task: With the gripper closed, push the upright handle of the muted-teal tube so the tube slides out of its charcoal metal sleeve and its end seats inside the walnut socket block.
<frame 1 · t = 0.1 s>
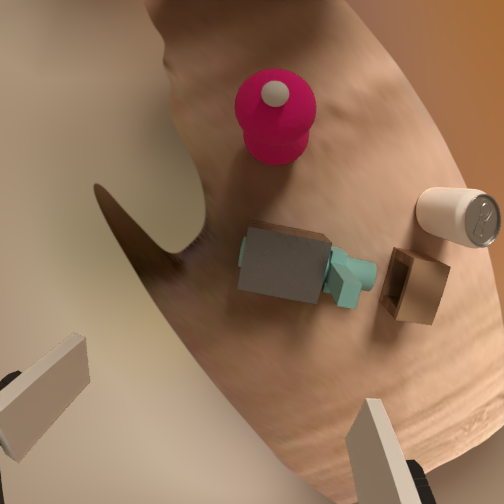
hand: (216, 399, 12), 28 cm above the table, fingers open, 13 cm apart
tube: (311, 272, 32), point 7 cm above the table, slide at 0.0 cm
pepper mill: (276, 140, 36), on the table
can: (433, 210, 36), on the table
socket: (403, 277, 38), on the table
sleeve: (282, 253, 39), on the table
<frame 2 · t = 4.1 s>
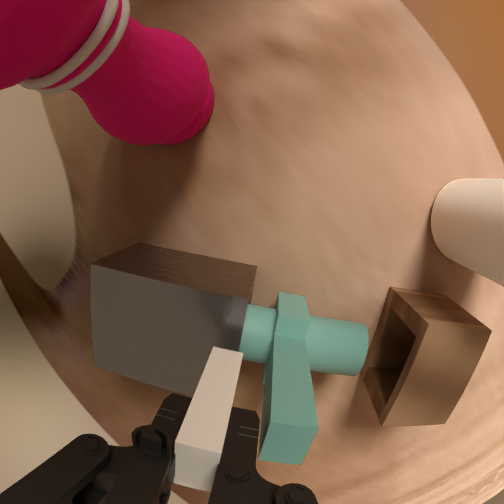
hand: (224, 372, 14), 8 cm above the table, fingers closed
tube: (230, 359, 15), point 7 cm above the table, slide at 1.2 cm, touching gripper
pepper mill: (173, 104, 20), on the table
can: (459, 219, 20), on the table
socket: (404, 335, 22), on the table
sleeve: (189, 299, 22), on the table
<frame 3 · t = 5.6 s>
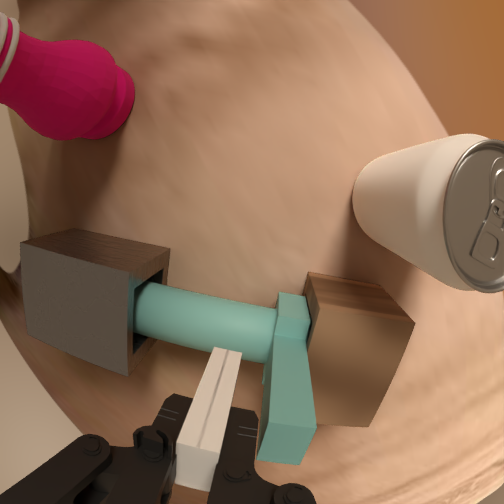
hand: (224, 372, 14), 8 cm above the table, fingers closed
tube: (229, 359, 15), point 7 cm above the table, slide at 7.6 cm, touching gripper, socket
pepper mill: (103, 103, 20), on the table
can: (392, 200, 20), on the table
socket: (331, 326, 22), on the table
sleeve: (115, 280, 23), on the table
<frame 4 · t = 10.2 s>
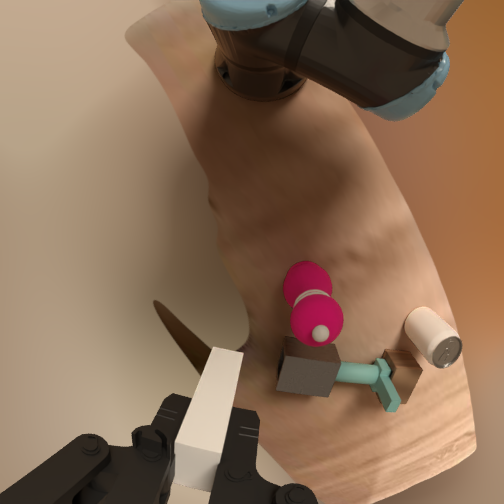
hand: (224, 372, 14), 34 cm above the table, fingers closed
tube: (368, 385, 44), point 7 cm above the table, slide at 7.6 cm, touching socket
pepper mill: (305, 279, 49), on the table
can: (418, 321, 49), on the table
socket: (390, 367, 51), on the table
sleeve: (305, 357, 51), on the table
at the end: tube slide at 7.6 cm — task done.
